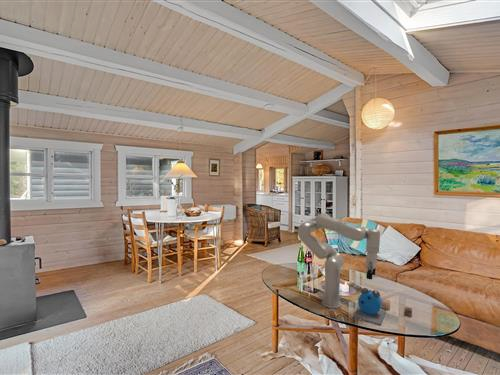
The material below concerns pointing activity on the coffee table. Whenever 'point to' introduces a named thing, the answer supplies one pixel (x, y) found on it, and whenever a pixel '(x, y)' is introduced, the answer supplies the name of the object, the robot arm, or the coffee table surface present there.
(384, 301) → the tan egg shape
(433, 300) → the coffee table surface
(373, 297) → the alarm clock
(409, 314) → the walnut block
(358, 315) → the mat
